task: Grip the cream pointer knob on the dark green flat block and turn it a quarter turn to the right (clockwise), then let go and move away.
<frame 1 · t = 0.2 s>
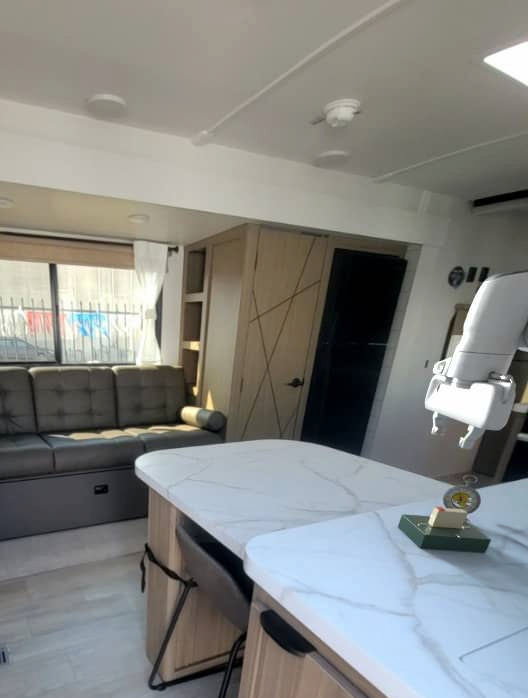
hand: (449, 441, 82), 18 cm above the table, tool pointing down, fingers open, 8 cm apart
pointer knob: (447, 517, 79), point 5 cm above the table, hinge at 0.0°
pocket watch: (452, 521, 90), on the table
dark green flat block: (438, 539, 82), on the table
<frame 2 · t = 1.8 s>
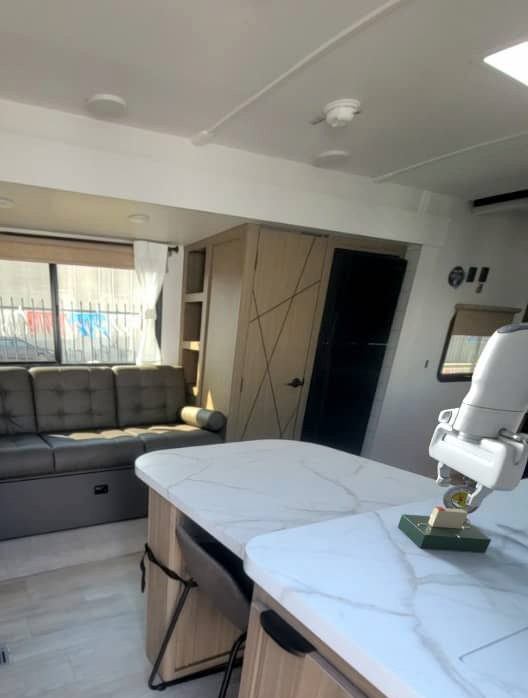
hand: (456, 494, 77), 10 cm above the table, tool pointing down, fingers open, 8 cm apart
nothing on the table moved.
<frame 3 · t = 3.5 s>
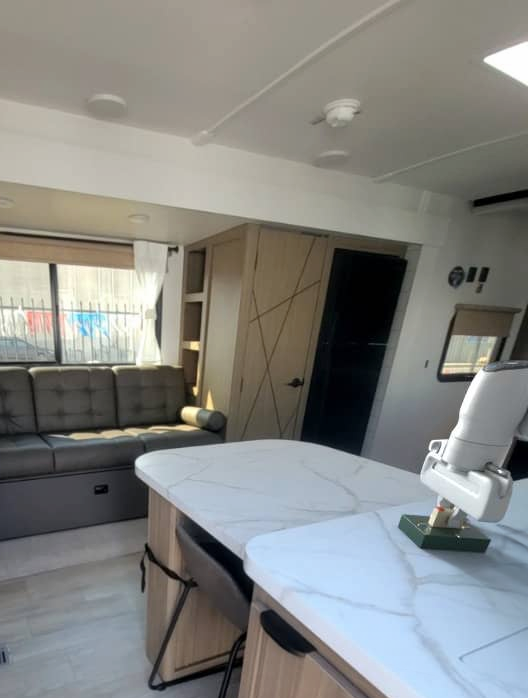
hand: (446, 522, 80), 4 cm above the table, tool pointing down, fingers closed on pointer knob, 2 cm apart
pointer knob: (447, 517, 79), point 5 cm above the table, hinge at 0.0°, touching gripper
everything else where it was.
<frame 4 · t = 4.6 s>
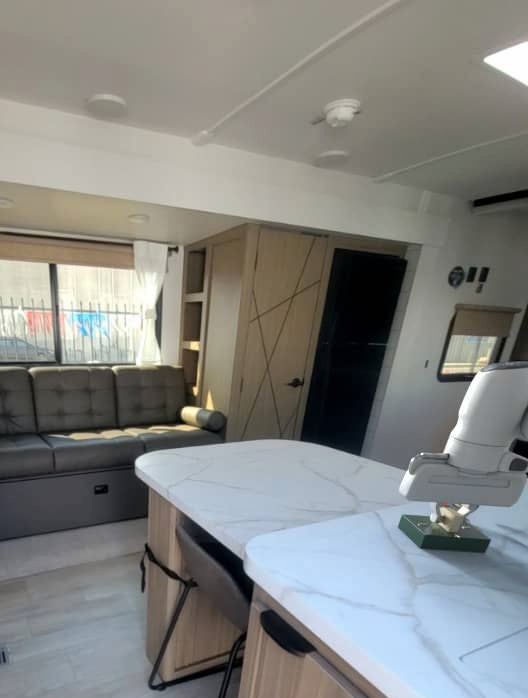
hand: (445, 522, 80), 4 cm above the table, tool pointing down, fingers closed
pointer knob: (447, 517, 79), point 5 cm above the table, hinge at -89.6°
everything else where it was.
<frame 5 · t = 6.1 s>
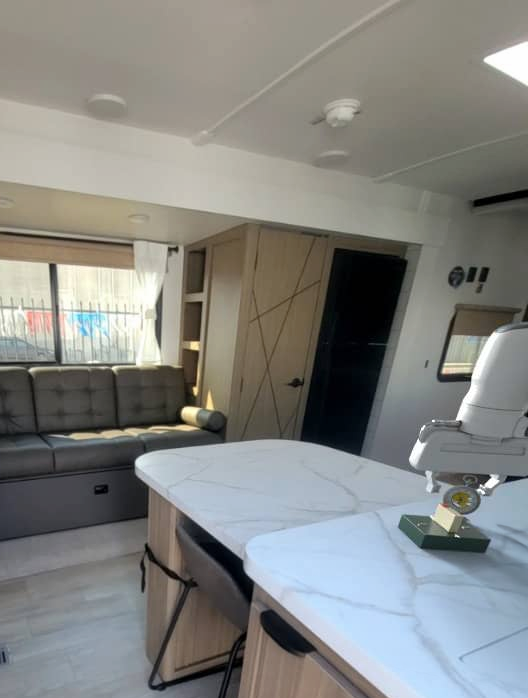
hand: (457, 493, 78), 10 cm above the table, tool pointing down, fingers open, 8 cm apart
nothing on the table moved.
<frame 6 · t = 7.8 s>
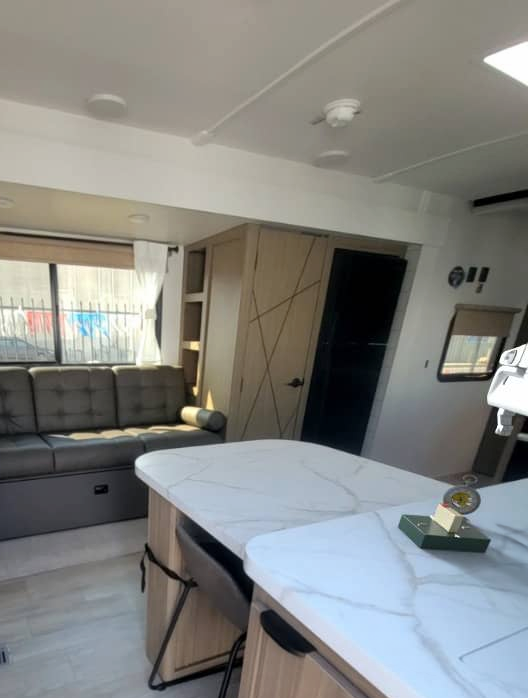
hand: (519, 441, 71), 21 cm above the table, tool pointing down, fingers open, 8 cm apart
nothing on the table moved.
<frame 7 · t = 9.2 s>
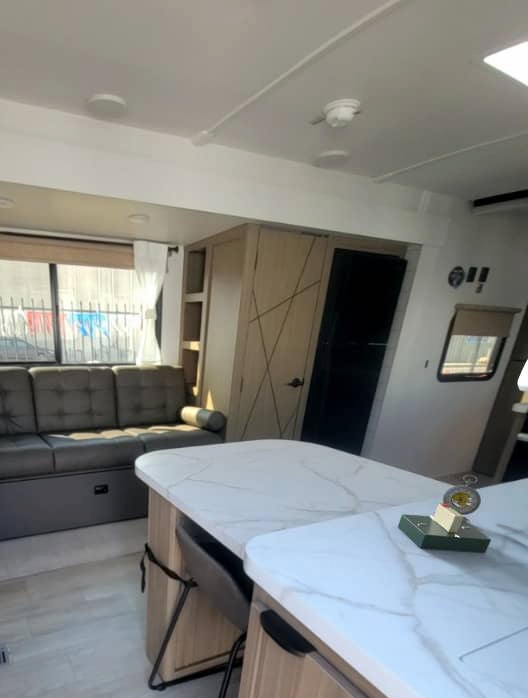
nothing on the table moved.
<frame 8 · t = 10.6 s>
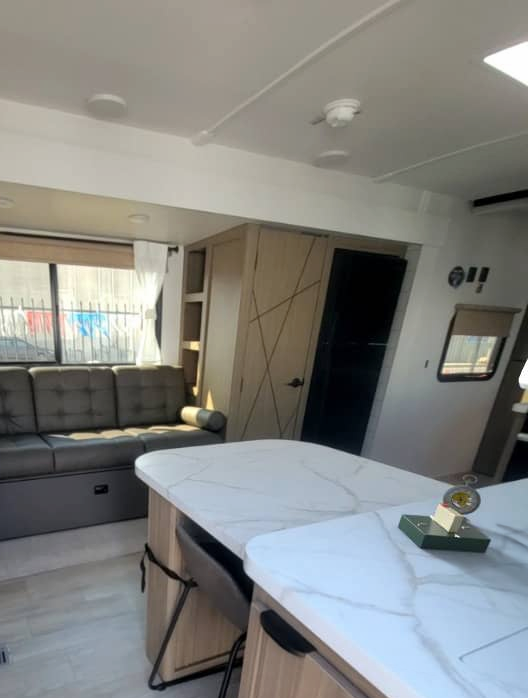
nothing on the table moved.
at the end: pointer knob at -90° (first picture: +0°) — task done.
